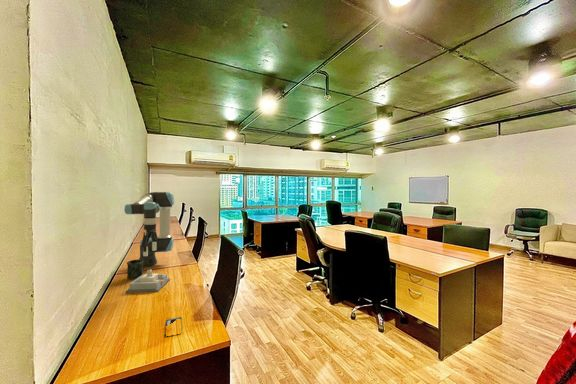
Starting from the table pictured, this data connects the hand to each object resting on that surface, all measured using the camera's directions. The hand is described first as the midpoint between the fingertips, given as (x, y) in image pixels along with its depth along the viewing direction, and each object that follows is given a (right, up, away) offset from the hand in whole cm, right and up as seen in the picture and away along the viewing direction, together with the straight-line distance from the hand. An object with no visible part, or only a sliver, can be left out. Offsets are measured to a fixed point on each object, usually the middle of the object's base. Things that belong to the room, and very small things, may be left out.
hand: (150, 253), depth 170 cm
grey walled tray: (+3, -21, -6) cm, 22 cm away
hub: (+5, -20, -5) cm, 21 cm away
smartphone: (+43, -23, -55) cm, 73 cm away
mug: (-17, -21, +9) cm, 29 cm away
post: (+3, -20, -6) cm, 21 cm away
